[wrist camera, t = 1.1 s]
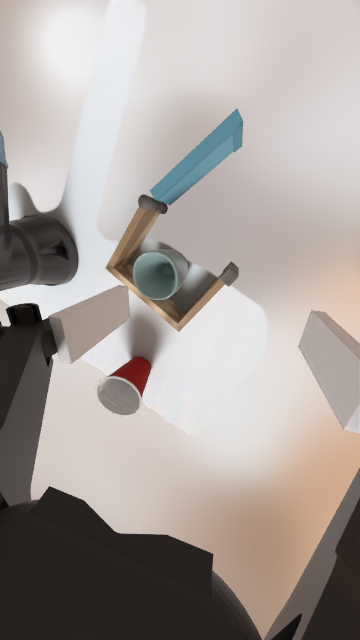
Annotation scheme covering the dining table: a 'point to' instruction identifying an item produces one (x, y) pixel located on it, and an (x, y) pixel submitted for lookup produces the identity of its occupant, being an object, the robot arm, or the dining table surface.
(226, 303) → the dining table surface
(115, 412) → the plastic cup
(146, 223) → the wooden u-shaped tray
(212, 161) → the blue flat rectangular panel
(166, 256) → the cup
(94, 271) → the dining table surface
